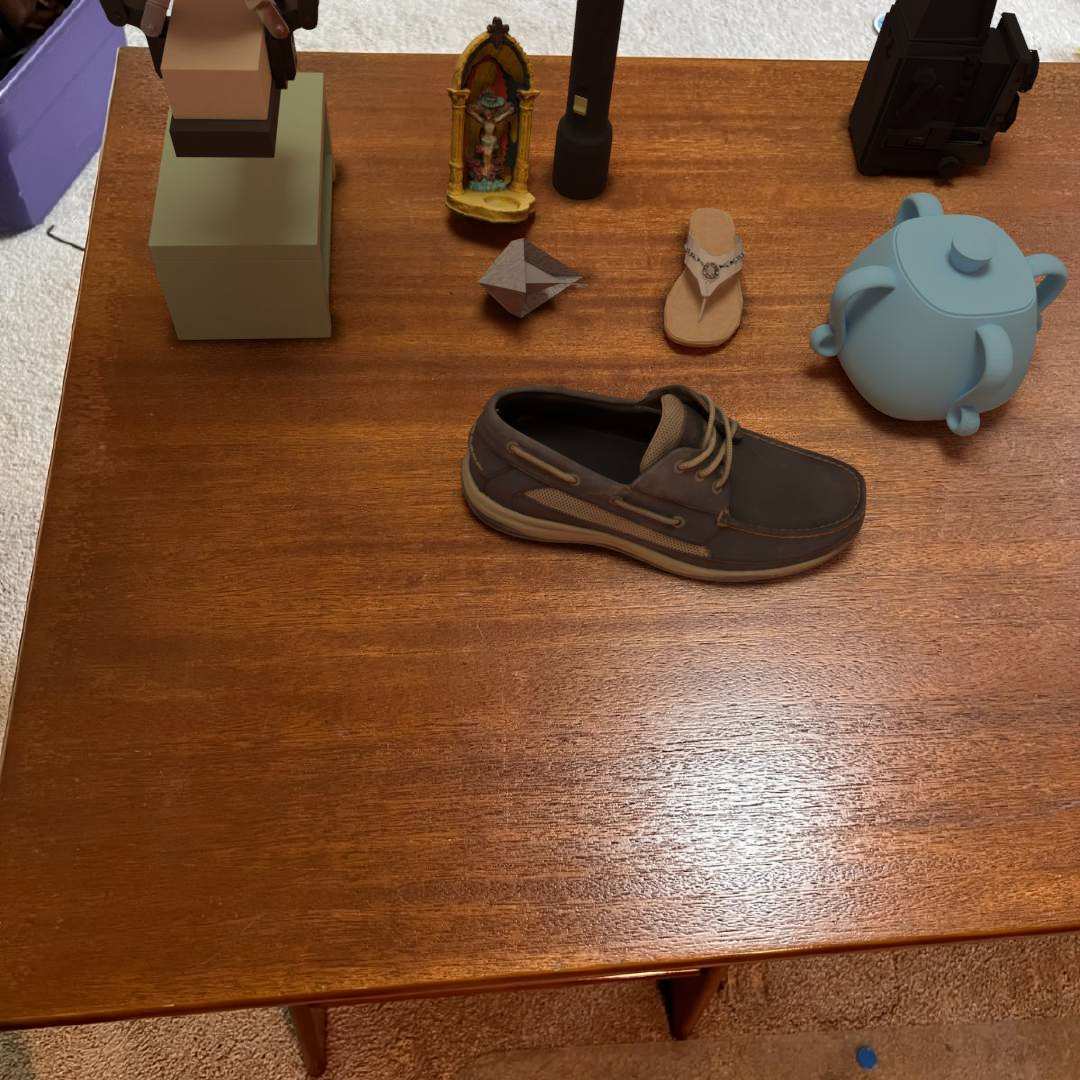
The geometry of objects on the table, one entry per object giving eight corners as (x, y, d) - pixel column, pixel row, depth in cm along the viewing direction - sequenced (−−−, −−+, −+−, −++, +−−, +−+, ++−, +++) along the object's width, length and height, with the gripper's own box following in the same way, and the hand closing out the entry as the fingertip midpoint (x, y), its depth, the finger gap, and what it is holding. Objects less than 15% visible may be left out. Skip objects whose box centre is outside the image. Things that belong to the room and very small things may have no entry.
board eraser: (274, 158, 67) (260, 80, 63) (176, 157, 67) (154, 79, 62) (288, 22, 74) (276, -57, 70) (199, 20, 74) (181, -60, 69)
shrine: (444, 162, 99) (441, 9, 86) (532, 164, 100) (543, 11, 87) (445, 252, 93) (443, 101, 80) (539, 252, 94) (552, 103, 81)
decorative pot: (772, 363, 89) (819, 237, 77) (879, 265, 95) (937, 136, 84) (940, 479, 84) (1017, 363, 72) (1041, 367, 90) (1126, 245, 79)
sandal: (661, 353, 88) (671, 310, 84) (665, 221, 97) (674, 176, 92) (741, 362, 89) (756, 319, 84) (738, 229, 97) (751, 184, 92)
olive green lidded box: (331, 337, 87) (317, 244, 79) (178, 340, 86) (147, 245, 77) (335, 170, 97) (323, 72, 89) (199, 171, 96) (174, 71, 88)
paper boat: (517, 228, 93) (618, 237, 90) (516, 303, 96) (613, 314, 93) (453, 242, 83) (563, 252, 80) (452, 325, 86) (560, 338, 82)
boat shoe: (858, 598, 77) (911, 517, 68) (451, 563, 77) (450, 477, 68) (845, 474, 83) (892, 385, 74) (466, 441, 83) (467, 346, 73)
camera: (997, 191, 102) (1106, -13, 85) (856, 183, 101) (937, -24, 84) (975, 122, 107) (1073, -83, 90) (840, 114, 106) (914, -94, 89)
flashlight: (566, 156, 100) (542, 187, 98) (594, -112, 80) (564, -81, 78) (615, 175, 100) (591, 207, 97) (656, -91, 79) (627, -59, 77)
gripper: (7, -177, 52) (107, 118, 67) (308, -168, 53) (342, 120, 68) (35, -251, 56) (123, 43, 71) (315, -241, 57) (346, 46, 72)
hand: (230, 80), depth 69 cm, fingers closed on board eraser, 6 cm apart
